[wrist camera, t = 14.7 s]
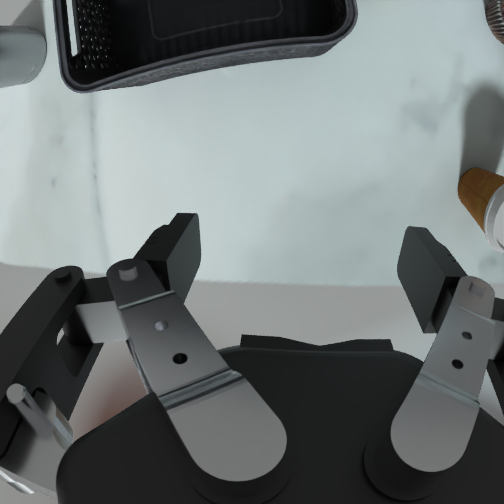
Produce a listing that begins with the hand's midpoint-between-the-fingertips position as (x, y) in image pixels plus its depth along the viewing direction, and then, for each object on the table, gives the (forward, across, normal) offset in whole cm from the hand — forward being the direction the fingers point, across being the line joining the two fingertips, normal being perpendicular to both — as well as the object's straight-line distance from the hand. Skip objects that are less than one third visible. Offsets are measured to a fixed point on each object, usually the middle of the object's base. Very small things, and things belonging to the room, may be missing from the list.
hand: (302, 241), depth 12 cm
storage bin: (+30, +10, -17) cm, 36 cm away
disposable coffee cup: (+30, -28, +5) cm, 41 cm away
